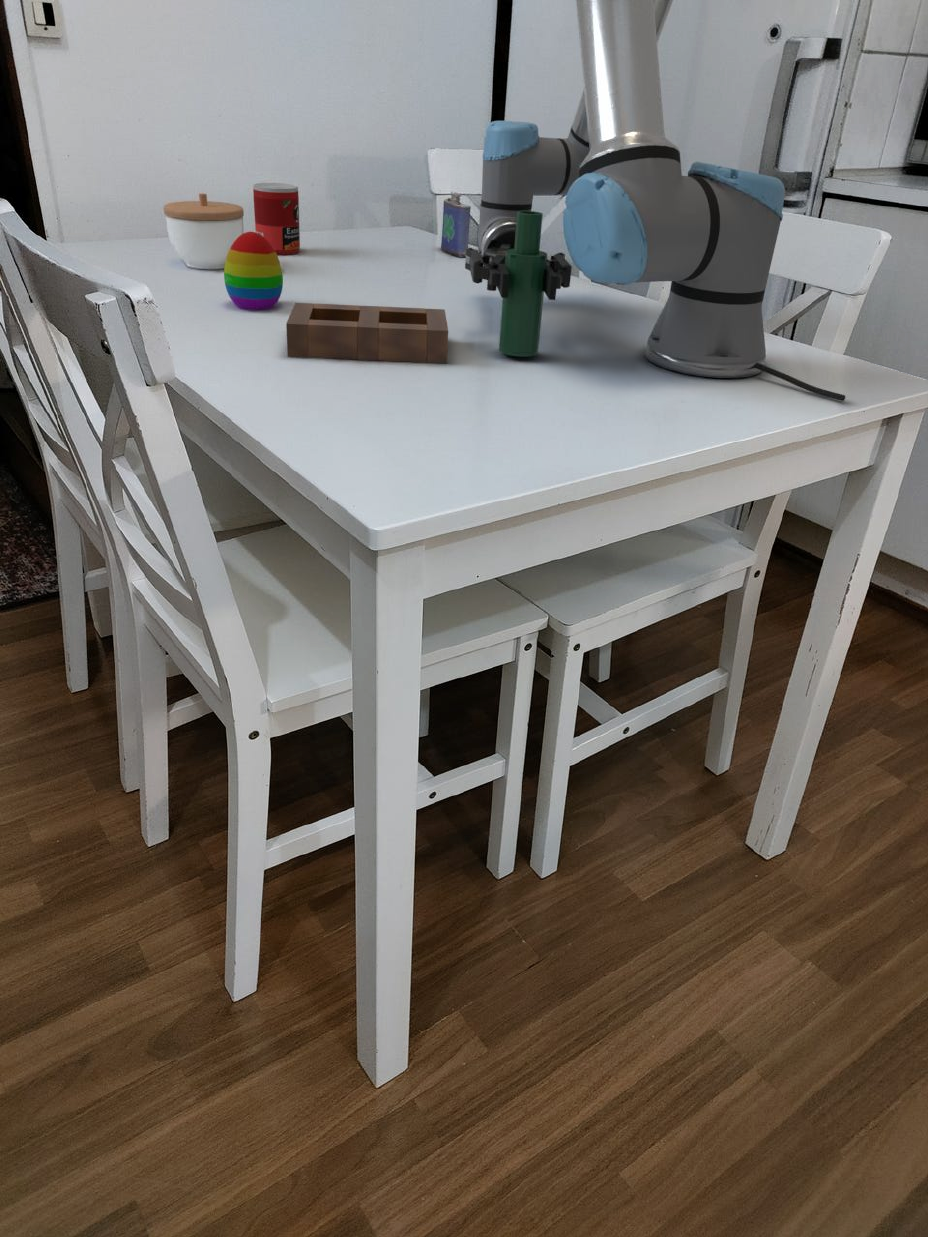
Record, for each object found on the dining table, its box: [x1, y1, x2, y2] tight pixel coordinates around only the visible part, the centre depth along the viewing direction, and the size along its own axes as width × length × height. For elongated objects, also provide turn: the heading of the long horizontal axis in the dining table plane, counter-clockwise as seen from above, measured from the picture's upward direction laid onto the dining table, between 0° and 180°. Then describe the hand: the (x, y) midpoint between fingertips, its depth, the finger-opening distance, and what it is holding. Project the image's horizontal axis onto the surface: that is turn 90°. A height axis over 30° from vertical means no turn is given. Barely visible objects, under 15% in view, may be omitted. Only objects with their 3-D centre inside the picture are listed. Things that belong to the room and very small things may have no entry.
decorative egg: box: [223, 231, 284, 311], centre depth 132 cm, size 8×8×10 cm
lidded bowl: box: [163, 192, 245, 270], centre depth 154 cm, size 13×13×11 cm
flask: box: [440, 191, 471, 258], centre depth 177 cm, size 9×3×11 cm, turn 25°
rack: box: [285, 302, 449, 364], centre depth 118 cm, size 20×11×4 cm, turn 93°
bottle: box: [498, 210, 548, 358], centre depth 115 cm, size 5×5×16 cm
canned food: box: [252, 182, 301, 256], centre depth 168 cm, size 8×8×11 cm
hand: (529, 286), depth 111 cm, fingers closed on bottle, 5 cm apart
